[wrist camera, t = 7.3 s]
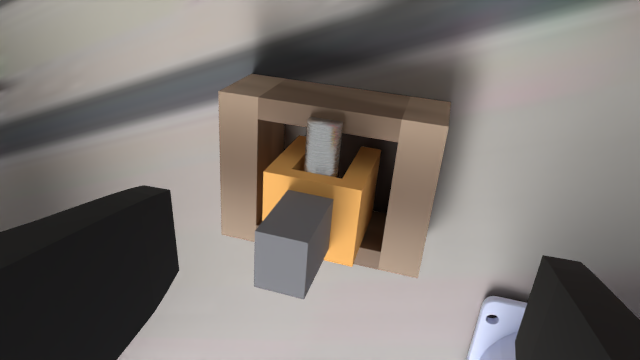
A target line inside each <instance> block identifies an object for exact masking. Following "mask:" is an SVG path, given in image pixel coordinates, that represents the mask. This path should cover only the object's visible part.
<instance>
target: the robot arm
mask: <svg viewBox="0 0 640 360" xmlns="http://www.w3.org/2000/svg"><path fill="white" fill-rule="evenodd" d="M178 271H179V265H178V256H177V247H176V238H175V229H174V220H173V211H172V202H171V194H170V190H167V189H161V188H155V187H150V186H139V187H135V188H131V189H127V190H124V191H121V192H117V193H114V194H111V195H108V196H105V197H102V198H99V199H96V200H94V201H91V202H88V203H85V204H82V205H79V206H76V207H74V208H71V209H68V210H65V211H62V212H59V213H57V214H54V215H51V216H48V217H45V218H42V219H39V220H37V221H34V222H31V223H28V224H25V225H21V226H18V227H15V228H12V229H9V230H6V231H3V232H0V360H117V359H118V357H119V356H120V355H121V354H122V352H123V351H124V350H125V349H126V347H127V346H128V345H129V344H130V342H131V341H132V340H133V339H134V337H135V336H136V335H137V333H138V332H139V331H140V330H141V328H142V327H143V326H144V325H145V323H146V322H147V321H148V319H149V318H150V317H151V316H152V314H153V313H154V312H155V310H156V309H157V307H158V305H159V304H160V302H161V301H162V299H163V297H164V296H165V294H166V292H167V291H168V289H169V287H170V285H171V284H172V282H173V280H174V278H175V277H176V275H177V273H178ZM488 315H495V316H497V317H496V318H489V317H487V316H488ZM466 360H640V320H639V319H638V318H637V317H636V316H635V315H634V314H633V313H632V312H631V311H630V310H629V309H628V308H627V307H626V306H625V305H624V304H623V303H622V302H621V301H620V300H619V299H618V298H617V297H616V296H615V295H614V294H613V293H612V292H611V291H610V290H609V289H608V288H607V287H606V286H605V285H604V284H603V283H602V282H601V281H600V280H599V279H598V278H597V277H596V276H595V275H594V274H593V273H592V272H591V271H590V270H589V269H588V268H587V267H586V266H585V265H583V264H582V263H581V262H578V261H572V260H566V259H561V258H555V257H549V256H543V257H542V260H541V263H540V266H539V269H538V272H537V275H536V278H535V281H534V284H533V287H532V290H531V293H530V296H529V300H528V303H525V302H521V301H516V300H512V299H507V298H503V297H498V296H490V297H487V298H486V299H485V300H484V301H483V303H482V307H481V310H480V314H479V317H478V320H477V324H476V327H475V331H474V334H473V338H472V341H471V345H470V348H469V352H468V355H467V359H466Z"/></svg>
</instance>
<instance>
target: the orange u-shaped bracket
mask: <svg viewBox="0 0 640 360" xmlns="http://www.w3.org/2000/svg"><path fill="white" fill-rule="evenodd" d="M305 148H306V137H305V136H300V135H299V136H298V137H297V138H296V139H295V140H294V141H293V142H292V143H291V144H290V145H289V146H288V147H287V148H286V149H285V150H284V151H283V152H282V153H281V154H280V155H279V156H278V157H277V158H276V159H275V160H274V161H273V162H272V163H271V164H270V165H269V166H268V167H267V168H266V169H265V170H264V171H263V213H262V223H261V224H260V225H259V226H258V228H257V229H256V230H255V255H254V287H257V288H261V289H265V290H269V291H273V292H277V293H281V294H285V295H289V296H293V297H296V298H300V299H304V298H305V296H306V294H307V292H308V290H309V288H310V286H311V284H312V282H313V280H314V278H315V276H316V274H317V272H318V270H319V268H320V266H321V264H322V262H323V260H325V261H330V262H334V263H338V264H343V265H347V266H351V267H352V266H353V263H354V261H355V258H356V255H357V253H358V250H359V248H360V245H361V243H362V240H363V237H364V235H365V232H366V230H367V227H368V224H369V222H370V219H371V217H372V211H373V204H374V197H375V190H376V183H377V176H378V169H379V162H380V155H381V150H380V149H374V148H368V147H362V146H361V148H360V149H359V151H358V153H357V155H356V156H355V158H354V160H353V161H352V163H351V165H350V166H349V168H348V170H347V171H346V173H345V175H344V177H343V178H342V179H341V178H336V177H331V176H326V175H320V174H315V173H310V172H305V171H304V164H305Z"/></svg>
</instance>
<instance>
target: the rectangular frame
mask: <svg viewBox="0 0 640 360" xmlns="http://www.w3.org/2000/svg"><path fill="white" fill-rule="evenodd" d="M450 106H451V102H446V101H439V100H432V99H425V98H418V97H411V96H404V95H397V94H390V93H383V92H376V91H369V90H362V89H355V88H348V87H341V86H334V85H327V84H320V83H313V82H306V81H299V80H292V79H285V78H278V77H271V76H264V75H257V74H250V75H248V76H247V77H245V78H243V79H241V80H239V81H237V82H235V83H233V84H231V85H229V86H228V87H226V88H224V89H222V90H220V91H219V136H220V182H221V227H222V235H226V236H230V237H235V238H239V239H244V240H248V241H253V242H255V230H256V229H257V228H258V226H259V225H260V224H261V223H262V213H263V171H264V170H265V169H266V168H267V167H268V166H269V165H270V164H271V163H272V162H273V161H274V160H275V159H276V158H277V157H278V156H279V155H280V154H281V153H282V152H283V148H284V124H289V125H295V126H301V127H307V133H306V148H305V164H304V171H305V172H310V173H315V174H320V175H326V176H331V177H336V178H337V177H338V167H339V157H340V147H341V137H342V133H344V134H350V135H356V136H362V137H368V138H374V139H381V140H387V141H393V142H398V147H397V153H396V160H395V166H394V172H393V179H392V185H391V191H390V198H389V204H388V210H387V213H382V212H377V211H372V217H371V219H370V222H369V224H368V227H367V230H366V232H365V235H364V237H363V240H362V243H361V245H360V248H359V250H358V253H357V255H356V258H355V261H354V263H353V264H356V265H360V266H365V267H369V268H374V269H378V270H383V271H387V272H392V273H396V274H401V275H405V276H410V277H414V278H418V275H419V270H420V265H421V260H422V255H423V250H424V245H425V241H426V236H427V231H428V226H429V221H430V216H431V211H432V206H433V201H434V197H435V192H436V187H437V182H438V177H439V172H440V167H441V162H442V158H443V153H444V148H445V143H446V138H447V133H448V128H449V118H450Z"/></svg>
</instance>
